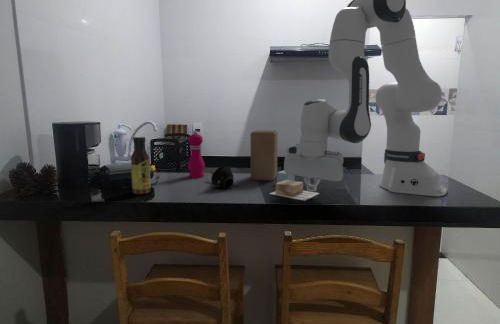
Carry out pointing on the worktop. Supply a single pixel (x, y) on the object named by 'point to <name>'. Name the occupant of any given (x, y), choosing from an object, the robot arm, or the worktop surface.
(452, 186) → the worktop surface
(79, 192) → the worktop surface
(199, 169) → the pepper mill
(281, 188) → the oak block
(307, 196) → the recipe card
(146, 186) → the sauce bottle
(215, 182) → the black rounded dome
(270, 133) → the block
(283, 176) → the blue cube
